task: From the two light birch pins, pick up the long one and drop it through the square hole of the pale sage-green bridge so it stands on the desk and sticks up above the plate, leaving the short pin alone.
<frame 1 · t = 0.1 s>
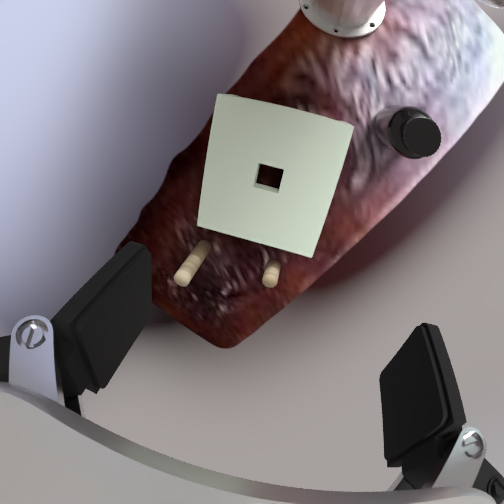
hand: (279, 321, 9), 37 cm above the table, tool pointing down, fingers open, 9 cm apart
short birch pin: (273, 265, 52), on the table
long birch pin: (204, 245, 53), on the table
supplement bottle: (395, 126, 36), on the table
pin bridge: (274, 168, 43), on the table
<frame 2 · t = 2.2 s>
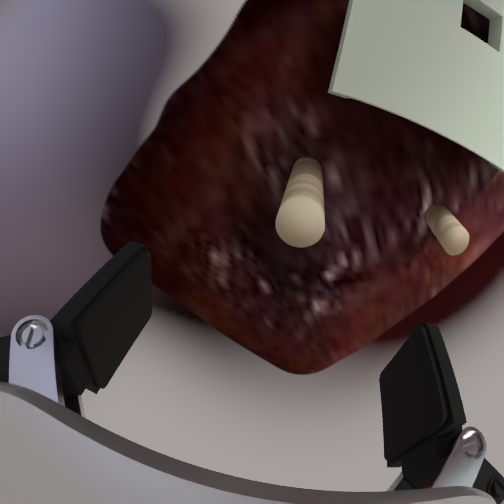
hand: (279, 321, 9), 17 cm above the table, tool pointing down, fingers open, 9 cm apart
short birch pin: (436, 216, 23), on the table
long birch pin: (307, 170, 24), on the table
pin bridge: (450, 32, 14), on the table
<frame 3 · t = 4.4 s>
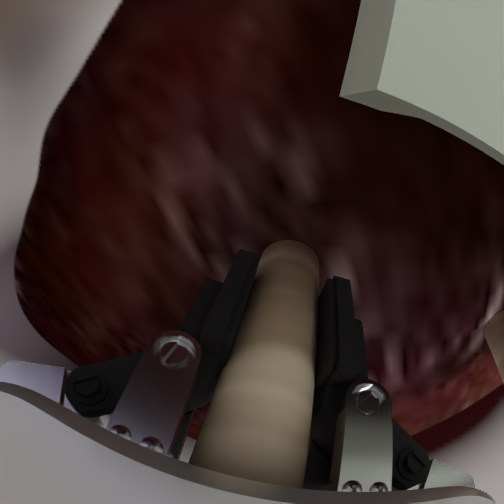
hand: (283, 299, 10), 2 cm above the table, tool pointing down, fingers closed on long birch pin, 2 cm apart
short birch pin: (501, 324, 11), on the table
long birch pin: (289, 266, 12), on the table, touching gripper
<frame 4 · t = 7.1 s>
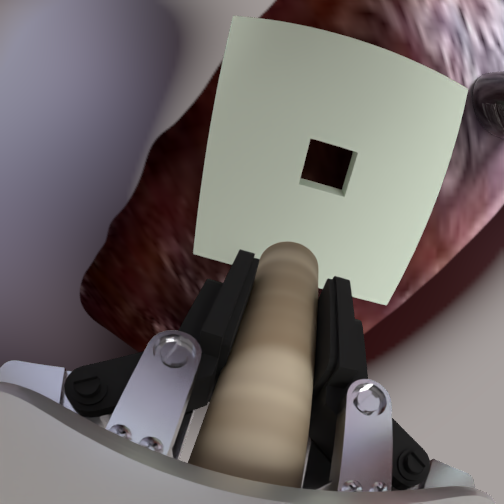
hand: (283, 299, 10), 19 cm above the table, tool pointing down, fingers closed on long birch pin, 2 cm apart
long birch pin: (288, 268, 12), point 16 cm above the table, touching gripper
supplement bottle: (493, 104, 18), on the table
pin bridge: (324, 155, 25), on the table
when the fingers open (8 cm above the table, at t = 9.8 s): long birch pin drops 6 cm, on the table.
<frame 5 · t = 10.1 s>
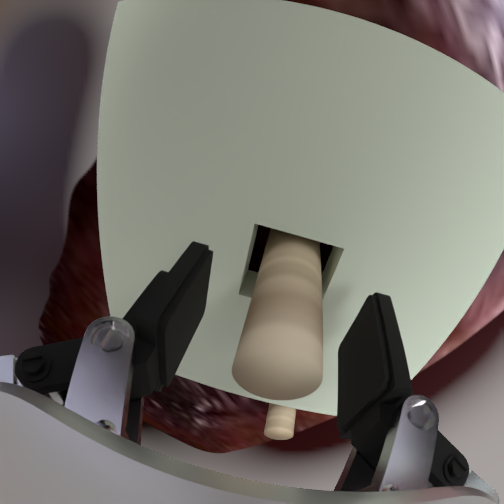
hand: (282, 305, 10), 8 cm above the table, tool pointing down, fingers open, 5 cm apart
short birch pin: (285, 389, 25), on the table
long birch pin: (296, 215, 17), on the table
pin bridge: (297, 216, 17), on the table
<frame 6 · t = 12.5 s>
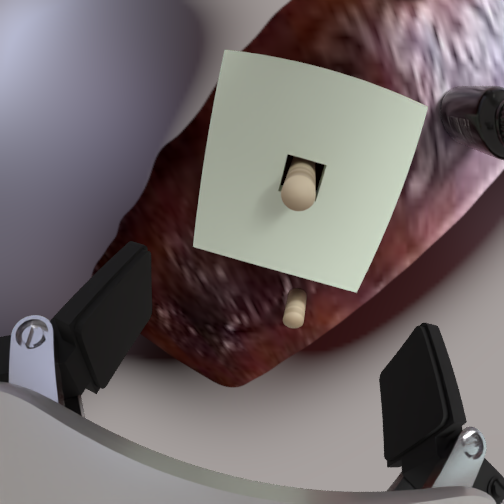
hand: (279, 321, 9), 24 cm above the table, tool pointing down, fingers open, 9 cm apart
short birch pin: (297, 295, 38), on the table
long birch pin: (303, 163, 30), on the table
supplement bottle: (462, 115, 23), on the table
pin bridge: (304, 164, 30), on the table
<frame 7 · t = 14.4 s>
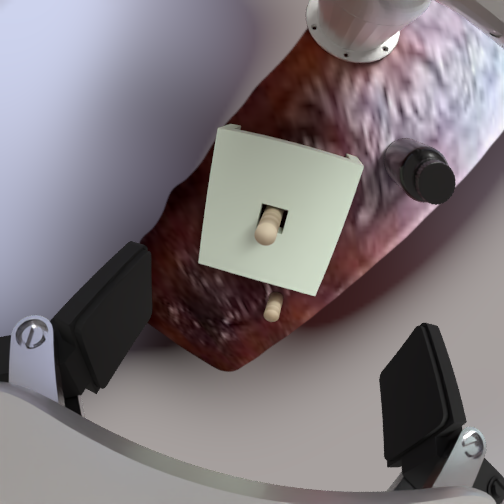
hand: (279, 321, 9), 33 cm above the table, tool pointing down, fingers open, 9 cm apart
short birch pin: (276, 297, 51), on the table
long birch pin: (277, 203, 42), on the table
supplement bottle: (405, 160, 35), on the table
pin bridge: (277, 203, 42), on the table
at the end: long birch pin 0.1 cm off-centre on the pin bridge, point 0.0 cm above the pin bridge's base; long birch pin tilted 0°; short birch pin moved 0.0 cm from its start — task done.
